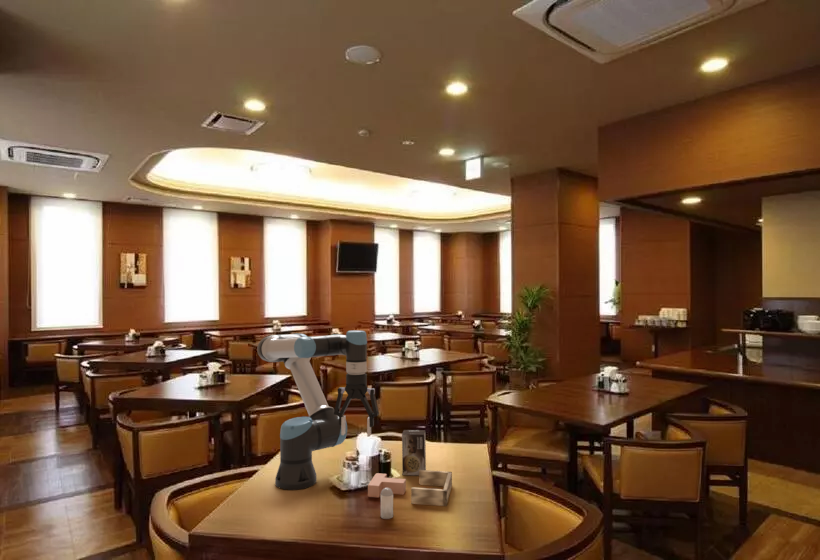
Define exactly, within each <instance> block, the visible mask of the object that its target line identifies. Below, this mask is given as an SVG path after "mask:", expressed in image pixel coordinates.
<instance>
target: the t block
mask: <svg viewBox="0 0 820 560" xmlns="http://www.w3.org/2000/svg"><path fill="white" fill-rule="evenodd" d="M406 480H407V479H406V478H396V477H395V478H394V477H388V474H387V473H379V472H377V473H375V474H374V476H373V477H372V478H371V480H370V482H369V483H368V485H367V497H368V498H381V491H382V490H383V489H384V488H390V489H391V490H392V492H393V495H404V494H405V493H406V490H407V486H406V485H407V483H406V482H407V481H406Z"/></svg>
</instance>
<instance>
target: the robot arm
mask: <svg viewBox="0 0 820 560" xmlns="http://www.w3.org/2000/svg"><path fill="white" fill-rule="evenodd" d="M256 351H257V355H258V357H259V358H260V359H261V360H262V361H264V362H268V363H280V362H281V363H282V362H283V365H284V367H285V369H288V370H290V372H291V374H292V376H293V377H292V378H293V379H294V382H295V384H296V387H297V389H298V392H299V394H300V397H301V399H302V403H303V404H304V408H305V410H306V411H307V414H308V416H297V417H292V418H289V419H287V420H285V421H284V422H283V423H282V424H281V426H280V433H279V438H280V440H279V441H280V442H279V443H280V444H279V445H280V451H279V454H280V455H279V457H280V463H279V466H278V468H277V472H276V475H275V479H274V480H275V481H274V483H275V484H276V485H275V484H274V485H275V486H276V488H278V487H280V488H279V489H281V488H283V489H282V490H286V489H288V490H287V491H294V490H296V491H297V490H303V489H307V488H309V487H312V486H314V485H315V484H316V483H317V473H316V469H315V466H314V463H313V452H315V451H319V450H324V449H329V448H335V447H336V446H339V445H341V444H343V443H344V442H345V441H346V437H347V435H348V424H347V419H346V417H347V416H346V415H345V413H346V411H347V410H348V409H347V408H348V407H349V405H350V403H351V400H355V399H356V400H360V401H361V402H362V405H363V407H364V408H365V411H366V413H367V415H368V417H367V421H366V422H367V423H366V424H367V425H366V426H367V427H366V429H367V430H366V431H367V432H366V433H367V434H366V436H367V437H369V438H370V437H371V436H372V427H374V425H375V420H374V419H375V417H378V415H380V412H379V411H380V410H379V407H378V402H377V399H376V388H374V387H373V388H371V387H370V388H369V387H368V385H367V384H368V379H367V378H368V377H367V376H368V374H367V371H368V370H367V369H368V367H367V364H368V363H367V362H368V361H367V358H368V355H367V354H368V353H367V352H368V338H367V331H365V330H358V329H357V330H355V329H354V330H348V331H346V333H345V334H341V333H335V334H330V335H329V334H327V335H317V336H316V335H314V336H312V335H311V336H308V335H306V334H305V333H296V332H295V333H291V334H289V333H287V334H286V333H285V334H270V335H267V336H265V337H263V338H262V339H261V340H259V342H258V344H257V348H256ZM338 355H339V356H342V355H343V356H345V358H346V359H345V365H346V367H345V368H346V369H345V372H346V375H345V387H342V386H341V387H339V388H337V398H336V402H335V406H334V407H332V406H329V404H328V402H327V399H326V396H325V395H324V393H323V390H322V388H321V385H320V382H319V381H318V378H317V376H316V374H315V370H314V369H313V367H312V364H311V361H310V360H311V358H317V357H327V356H329V357H331V356H338ZM344 393H346V394H347V397H346V399H345V401H344V403H343V405H342V400H343V395H344ZM367 393H368V395H369V398H370V403H371V406H372V407H371V406H370V403H369V401H368V398H367V396H366V394H367ZM341 405H342V407H341Z"/></svg>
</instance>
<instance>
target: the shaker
mask: <svg viewBox="0 0 820 560" xmlns="http://www.w3.org/2000/svg"><path fill="white" fill-rule="evenodd" d="M393 517H394V494H393V492H392V490H391V489H390V488H384V489H383V490H382V491H381V495H380V518H381V519H384V520H391V519H392V518H393Z"/></svg>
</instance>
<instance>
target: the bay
mask: <svg viewBox="0 0 820 560" xmlns="http://www.w3.org/2000/svg"><path fill="white" fill-rule="evenodd" d="M418 477H419V478H418V479H419V480H418V483H419V485H422V486H433V487H434V486H435V487H443V489H441V488H430V487H429V488H426V487H414V486H413V487H411V489H410V494H411V495H410V496H411V497H410V500H411V501H410V502H411V503H410V504H413V505H414V504H415V505H425V506H426V505H427V506H439V507H447V506H448V503H449V499H450V494H451V490H452V487H453V479H452V478H453V473H452V471H446V470H445V471H442V470H441V471H440V470H439V471H438V470H430V469H429V470H427V469H426V470H420V471H419V475H418Z"/></svg>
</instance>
